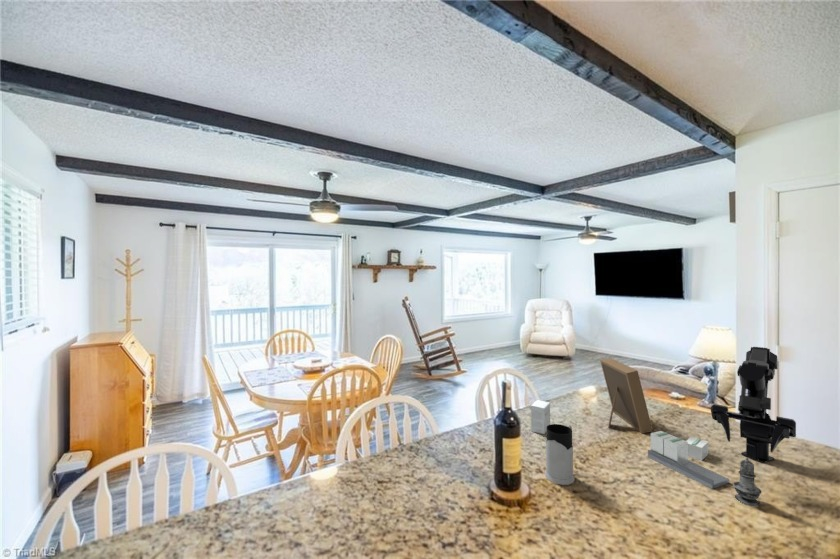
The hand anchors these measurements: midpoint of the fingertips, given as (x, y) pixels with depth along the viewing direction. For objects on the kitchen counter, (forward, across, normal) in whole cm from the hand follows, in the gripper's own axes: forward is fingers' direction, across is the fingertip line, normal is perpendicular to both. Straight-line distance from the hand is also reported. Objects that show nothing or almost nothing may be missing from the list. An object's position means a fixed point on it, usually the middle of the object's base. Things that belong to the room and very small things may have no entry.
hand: (749, 446), depth 106 cm
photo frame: (-9, -43, +27) cm, 51 cm away
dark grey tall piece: (+14, 0, +4) cm, 15 cm away
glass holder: (+30, -42, -11) cm, 53 cm away
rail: (+9, -15, +10) cm, 20 cm away
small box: (+12, -63, +6) cm, 64 cm away
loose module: (-1, -15, +20) cm, 25 cm away
